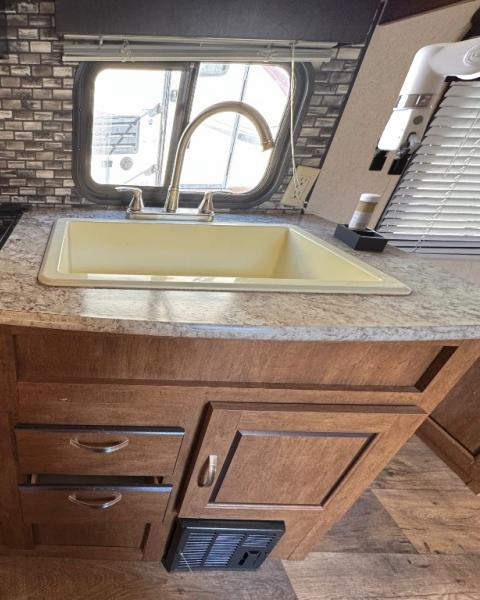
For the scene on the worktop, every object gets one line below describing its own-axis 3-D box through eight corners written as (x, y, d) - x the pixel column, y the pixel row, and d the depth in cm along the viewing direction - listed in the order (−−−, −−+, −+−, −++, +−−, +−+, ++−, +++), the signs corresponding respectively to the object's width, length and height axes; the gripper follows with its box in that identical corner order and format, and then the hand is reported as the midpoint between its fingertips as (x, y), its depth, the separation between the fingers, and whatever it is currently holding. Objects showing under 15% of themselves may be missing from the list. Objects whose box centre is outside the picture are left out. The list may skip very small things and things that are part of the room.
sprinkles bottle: (362, 237, 101) (382, 194, 94) (360, 240, 98) (381, 196, 92) (344, 234, 104) (363, 192, 97) (342, 237, 101) (361, 194, 94)
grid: (358, 237, 104) (364, 225, 102) (382, 252, 92) (389, 238, 90) (333, 235, 105) (338, 223, 103) (353, 249, 94) (359, 236, 91)
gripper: (456, 101, 75) (419, 177, 83) (409, 105, 89) (382, 169, 98) (418, 101, 76) (385, 176, 85) (379, 105, 91) (354, 169, 99)
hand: (383, 172), depth 91 cm, fingers open, 9 cm apart
